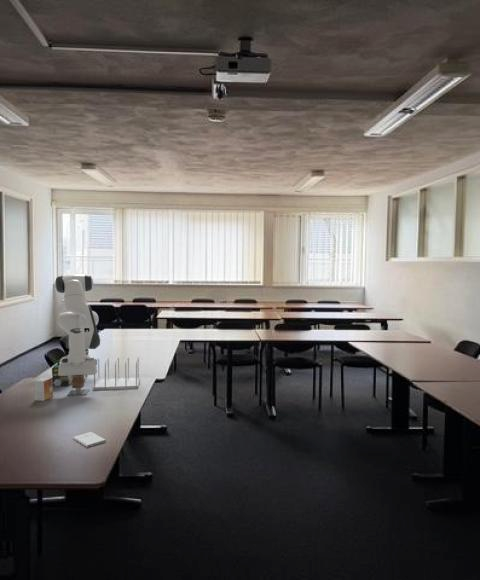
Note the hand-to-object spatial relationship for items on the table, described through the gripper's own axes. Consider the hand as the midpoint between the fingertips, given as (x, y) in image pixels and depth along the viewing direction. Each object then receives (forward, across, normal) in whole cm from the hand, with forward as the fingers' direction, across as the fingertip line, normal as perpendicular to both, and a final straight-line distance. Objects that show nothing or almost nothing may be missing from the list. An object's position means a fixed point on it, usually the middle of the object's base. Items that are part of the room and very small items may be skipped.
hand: (78, 383), depth 259 cm
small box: (+6, +16, +8) cm, 19 cm away
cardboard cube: (+2, 0, 0) cm, 2 cm away
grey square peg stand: (+6, 0, 0) cm, 6 cm away
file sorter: (+6, -19, -13) cm, 24 cm away
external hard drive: (+7, -18, +69) cm, 72 cm away
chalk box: (+6, +13, -19) cm, 24 cm away
